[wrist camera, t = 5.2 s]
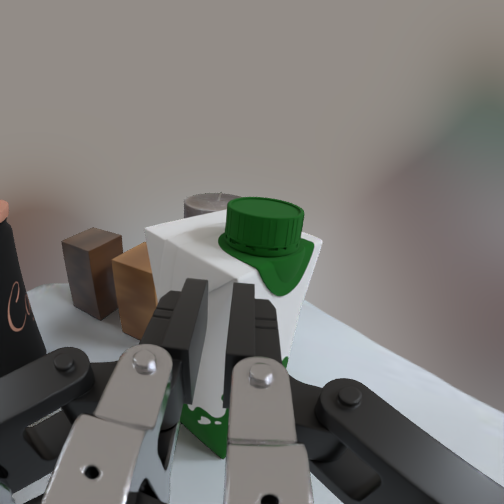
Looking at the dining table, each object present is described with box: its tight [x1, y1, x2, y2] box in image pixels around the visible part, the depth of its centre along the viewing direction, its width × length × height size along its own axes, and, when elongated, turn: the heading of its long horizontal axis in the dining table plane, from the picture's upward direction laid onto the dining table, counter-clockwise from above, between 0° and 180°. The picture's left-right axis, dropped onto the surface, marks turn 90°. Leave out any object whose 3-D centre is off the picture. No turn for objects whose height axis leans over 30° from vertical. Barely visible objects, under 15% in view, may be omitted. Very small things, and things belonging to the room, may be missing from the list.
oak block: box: [112, 242, 158, 340], centre depth 33 cm, size 6×6×10 cm
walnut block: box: [61, 228, 123, 320], centre depth 36 cm, size 6×6×10 cm
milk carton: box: [144, 197, 323, 459], centre depth 20 cm, size 9×9×20 cm
